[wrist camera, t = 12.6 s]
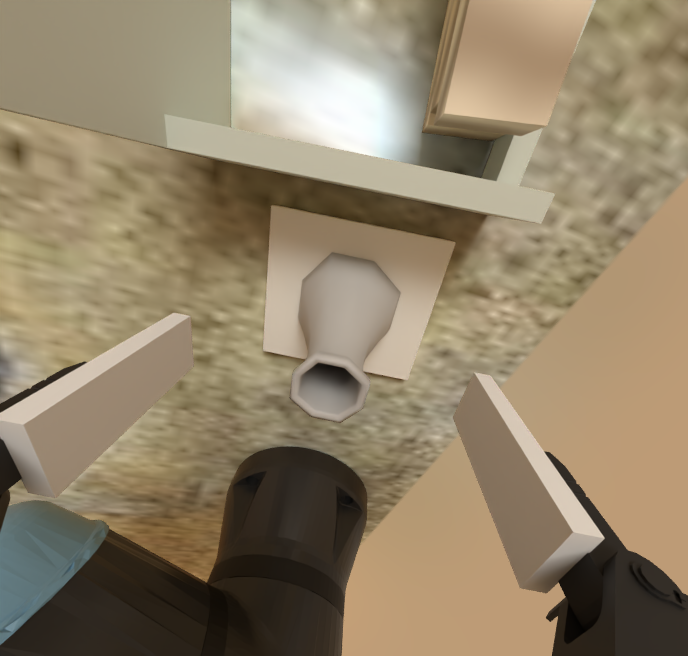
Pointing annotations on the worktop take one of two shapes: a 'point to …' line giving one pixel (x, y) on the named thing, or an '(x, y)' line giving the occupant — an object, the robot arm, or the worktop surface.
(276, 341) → the mat
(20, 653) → the robot arm
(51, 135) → the worktop surface
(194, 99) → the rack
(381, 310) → the flask
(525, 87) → the light brown wooden block
